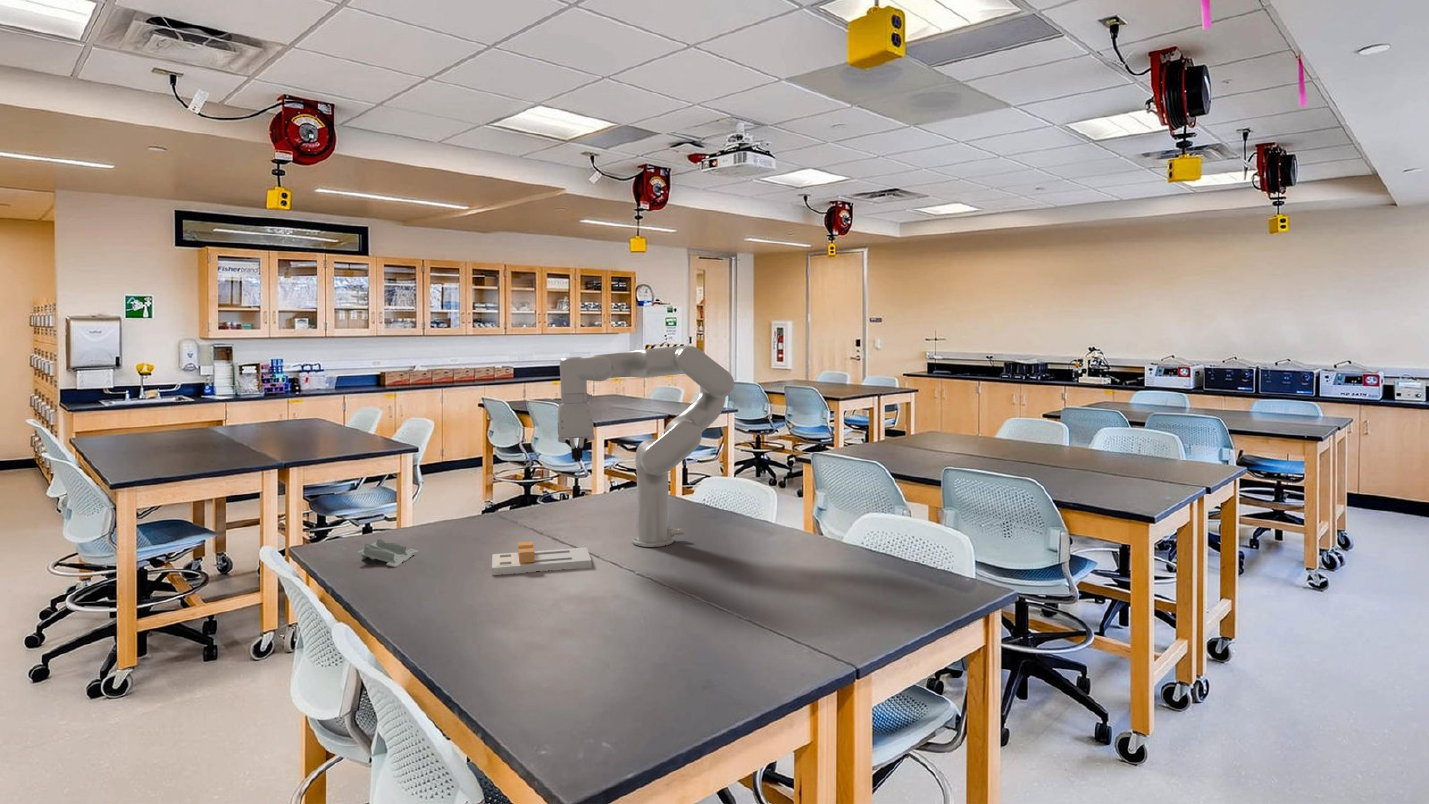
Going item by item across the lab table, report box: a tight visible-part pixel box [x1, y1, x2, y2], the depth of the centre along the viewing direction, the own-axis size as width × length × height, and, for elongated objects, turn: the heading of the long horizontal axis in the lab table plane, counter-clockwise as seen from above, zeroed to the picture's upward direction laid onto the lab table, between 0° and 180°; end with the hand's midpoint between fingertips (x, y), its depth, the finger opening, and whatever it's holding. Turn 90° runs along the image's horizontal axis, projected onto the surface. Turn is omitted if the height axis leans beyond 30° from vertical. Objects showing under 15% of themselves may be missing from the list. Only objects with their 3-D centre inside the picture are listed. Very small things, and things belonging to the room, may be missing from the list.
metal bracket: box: [357, 538, 419, 568], centre depth 215 cm, size 14×6×15 cm
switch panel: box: [491, 547, 592, 576], centre depth 210 cm, size 26×13×2 cm, turn 106°
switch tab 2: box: [519, 547, 535, 563], centre depth 205 cm, size 4×4×3 cm
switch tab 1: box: [517, 540, 534, 556], centre depth 212 cm, size 4×4×3 cm
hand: (577, 460), depth 225 cm, fingers closed
